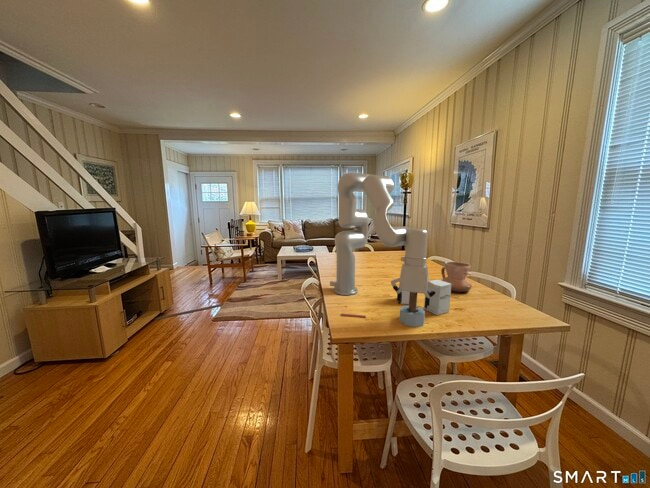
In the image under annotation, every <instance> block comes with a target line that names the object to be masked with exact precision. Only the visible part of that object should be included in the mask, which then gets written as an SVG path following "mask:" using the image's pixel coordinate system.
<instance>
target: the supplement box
mask: <svg viewBox="0 0 650 488" xmlns="http://www.w3.org/2000/svg"><path fill="white" fill-rule="evenodd" d="M429 281H430V282H431V283H433V284H435V285H436V286H438V287H439V289H438V291H437V292H436V293H435V295H433V296H432V297H430V303H429V306H427V308H425V300H424V302H423V303H424V304H423V310H425V311H427V312H429V313H432V314H433V315H436V316H439V315H442V314H446V313H449V312H450V306H451V304H450V303H451V295H452V294H451V293H452V291H451V283H447V282H444V281H442V279H441V280H440V279H434V280H429ZM428 291H429V292H431V291H433V288H432V287H430V286H429V285H428ZM425 298H426V296H425V295H424V299H425Z"/></svg>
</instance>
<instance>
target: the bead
mask: <svg viewBox="0 0 650 488" xmlns="http://www.w3.org/2000/svg"><path fill="white" fill-rule="evenodd" d="M408 310H409V304H407V305H403V306H401V307H400V309H399V322H400V323H401V324H403V325H404V326H407V327H413V328H418V327H423V326H424V324H425V320H426V319H425V316H426V315H425V314H426V310H425V309H424V308H422V307H420V306H416V313H412V312H408Z"/></svg>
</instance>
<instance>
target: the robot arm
mask: <svg viewBox="0 0 650 488" xmlns="http://www.w3.org/2000/svg"><path fill="white" fill-rule="evenodd" d="M392 179H393V178H391V177H390V176H388V175H381V174H380V175H379V174H378V175H377V174H372V173H371V174H370V173H362V172H347V173H344V174H342V175H341V176H340V178H339V180H338V183H337V193H338V224H339V227H340V228H343V229H353V230H343V231H340V232H338V233H337V234H336V235H335V236H334V246H335V252H336V253H335V255H336V281H333V280H332V281H331V280H330V282H329V286H330V287H333V290H332V291H333V292H334V293H335V294H336V295H337V294H338V295H341V296H352V295H356V294H357V293H358V291H359V290H358V288H357V287H356V285H355V284H356V282H355V281H356V257H355V254H354V252H353V250H354V249H355V250H356V249H362V248H365V246H366V245H367V242H368V236H369V235H368V234H369V215H368V213H367V212H366V210H364V209H361V208H357V198H356V196H355V194H354V192H358V193H361V192H362V193H365V195H366V197H367V199H368V201H369V202H370V204H371V207H372V208H373V211H374V214H373V228H374V231H375V233H376V235H377V237H378V239H379V241H380V243H382V244H383V245H384V246H385V247H389V248H392V247H393V248H394V247H398V246H400V247H401V246H405V249H404V251H405V252H404V256H402V257H400V261H402V262H403V263H402V265H401V268H400V269H401V270H400V276H399V277H398V278H395V279H392V280H391V281H390V283H391V286H392V289H393V290H394V292H396V294H397V295H396V296H397V297H396V301H397V302H398V304H399V305H401V304H400V303H401V302H402V292H401V291H402V290H403V291H408V292H415V293H418V294H424V301H425V308H427V306H429V303H430V297H432V296H433V295H435V293H436V292H437V291H438V289H439V287H438V286H436V285H435V284H433V283H431V282H430V281H431V280H429V279H430V278H429V277H430V276H429V267H428V265H427V254H428V253H427V250H428V239H429V238H428V236H429V234H428V230H427V229H425V228H416V227H415V228H414V227H410V226H406V225H404V226H391V223H390V222H389V220H388V218H387V213H388V212H389V211H390V210H391V209H393V207H394V206H395V201H394V200H393V198H392V196H391V194H392V192H393V191H394V187H395V185H394V184H395V183H394V182H393V180H392ZM397 283H399V284H398V285H397ZM428 285H429V286H430V287H432V288H433V291H431V292H429V291H428ZM425 296H426V298H425Z"/></svg>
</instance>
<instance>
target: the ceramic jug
mask: <svg viewBox="0 0 650 488" xmlns="http://www.w3.org/2000/svg"><path fill="white" fill-rule="evenodd" d="M471 267H472V266H471V264H470V263H468V262H467V263H465V262H460V261H445V262H444V266H442V268H441V276H442V279H441V281H444V282H447V283H451V292H456V293H465V292H469V291H470V290H471V289H472V285H473V284H472V283H471V282H470V281H469V280H468V279H467V278H466V277H467V276H469V277H470V276H472V275H473V273H472V272H470V271H471ZM445 273H446V274H445ZM446 275H447V276H446Z"/></svg>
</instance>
